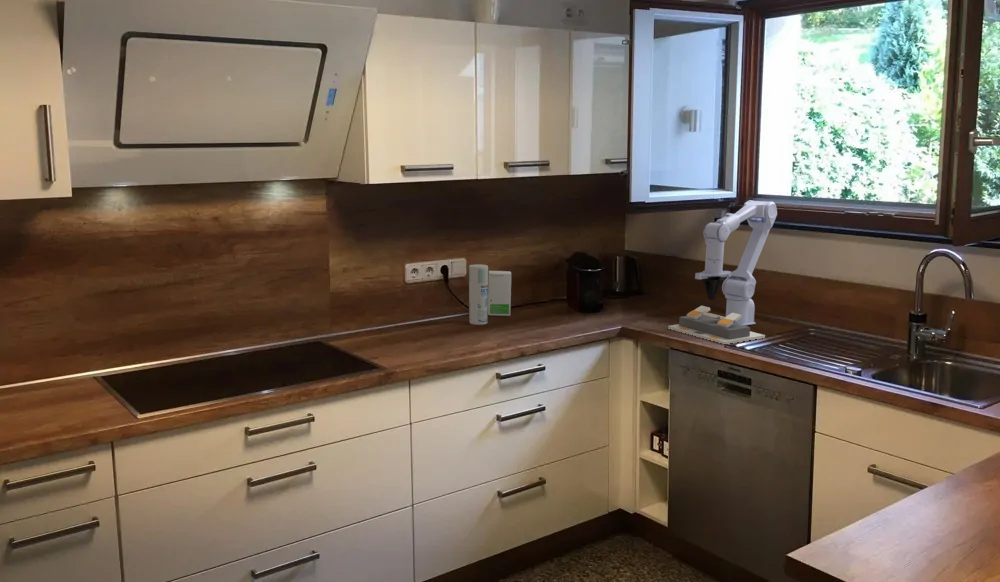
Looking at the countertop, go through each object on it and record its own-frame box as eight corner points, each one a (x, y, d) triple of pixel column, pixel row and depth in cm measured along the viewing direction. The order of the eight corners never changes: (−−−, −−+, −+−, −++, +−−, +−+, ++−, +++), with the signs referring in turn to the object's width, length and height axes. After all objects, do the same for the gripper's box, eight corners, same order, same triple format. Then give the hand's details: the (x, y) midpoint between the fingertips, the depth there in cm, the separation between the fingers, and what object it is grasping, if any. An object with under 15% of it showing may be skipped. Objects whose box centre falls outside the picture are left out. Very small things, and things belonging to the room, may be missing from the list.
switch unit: (706, 323, 301) (707, 311, 301) (764, 338, 280) (765, 326, 279) (668, 328, 292) (668, 317, 291) (725, 344, 270) (725, 332, 270)
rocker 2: (716, 318, 288) (717, 314, 288) (726, 320, 284) (727, 317, 284) (701, 314, 284) (702, 311, 284) (711, 317, 281) (712, 313, 281)
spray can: (481, 325, 295) (481, 267, 292) (465, 323, 298) (465, 266, 295) (491, 322, 301) (491, 265, 297) (475, 320, 304) (475, 263, 300)
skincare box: (488, 316, 311) (488, 273, 308) (487, 312, 317) (487, 270, 315) (511, 315, 311) (511, 273, 308) (510, 312, 318) (510, 270, 315)
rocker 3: (732, 315, 282) (731, 312, 281) (742, 317, 278) (741, 314, 278) (717, 325, 279) (716, 322, 279) (727, 328, 275) (726, 324, 275)
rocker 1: (701, 308, 294) (700, 305, 293) (711, 310, 290) (710, 307, 290) (686, 317, 291) (686, 314, 290) (696, 319, 287) (695, 316, 287)
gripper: (721, 256, 294) (718, 295, 297) (689, 258, 287) (687, 298, 289) (736, 259, 288) (733, 299, 291) (705, 261, 281) (702, 302, 283)
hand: (711, 299), depth 289 cm, fingers closed
